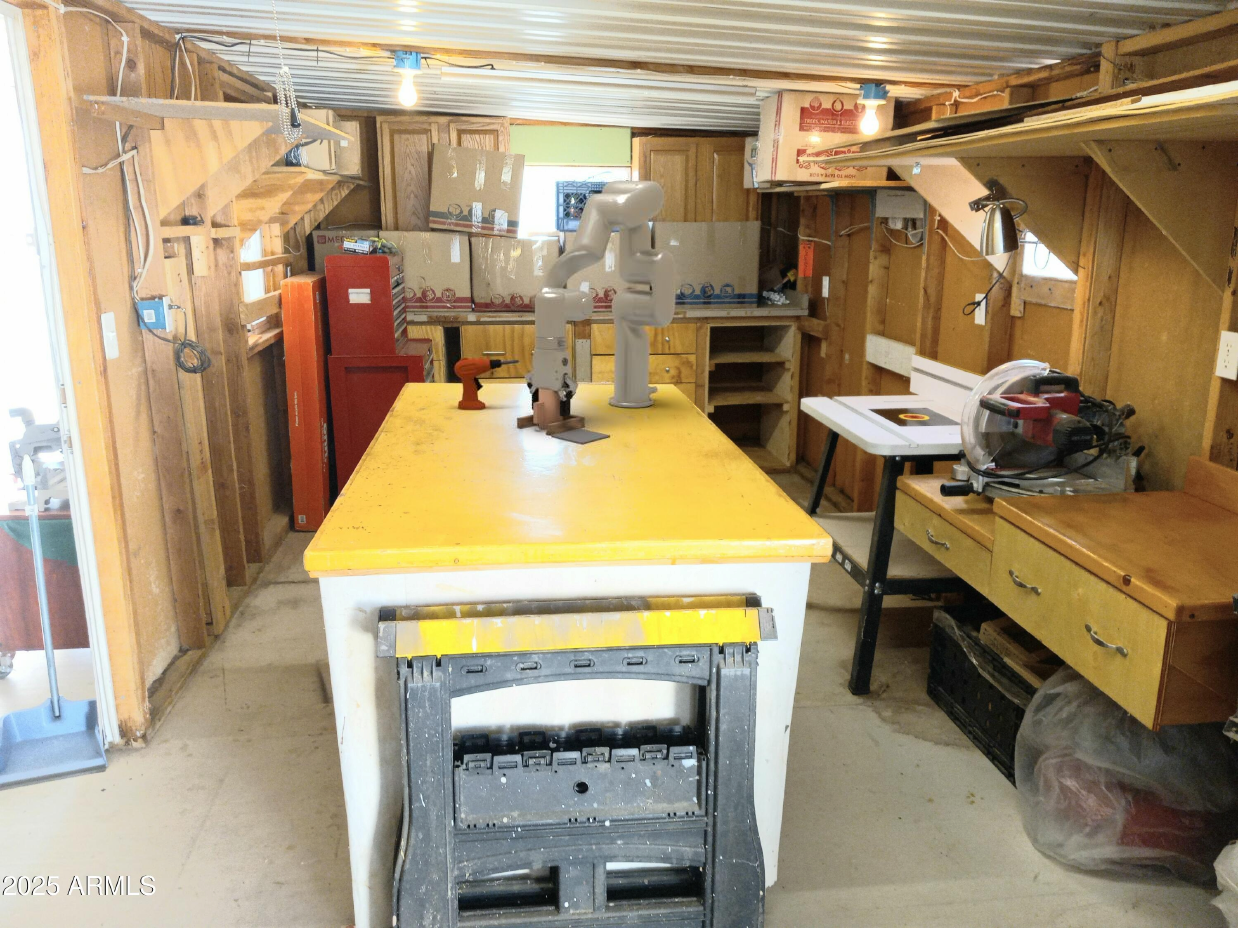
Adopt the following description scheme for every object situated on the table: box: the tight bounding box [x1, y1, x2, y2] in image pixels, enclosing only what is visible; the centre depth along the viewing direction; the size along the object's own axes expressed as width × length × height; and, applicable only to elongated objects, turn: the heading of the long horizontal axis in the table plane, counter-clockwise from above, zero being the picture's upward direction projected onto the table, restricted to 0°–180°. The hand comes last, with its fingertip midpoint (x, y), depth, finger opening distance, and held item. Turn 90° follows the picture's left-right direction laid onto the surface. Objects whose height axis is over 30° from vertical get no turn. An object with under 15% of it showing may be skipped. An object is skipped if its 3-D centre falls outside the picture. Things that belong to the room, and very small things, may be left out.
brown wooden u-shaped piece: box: [516, 413, 586, 436], centre depth 229 cm, size 12×11×2 cm
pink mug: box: [532, 387, 563, 431], centre depth 227 cm, size 8×6×10 cm
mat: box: [550, 428, 611, 445], centre depth 220 cm, size 10×10×1 cm
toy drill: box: [453, 356, 520, 411], centre depth 248 cm, size 5×18×14 cm, turn 96°
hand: (550, 412), depth 228 cm, fingers open, 9 cm apart
